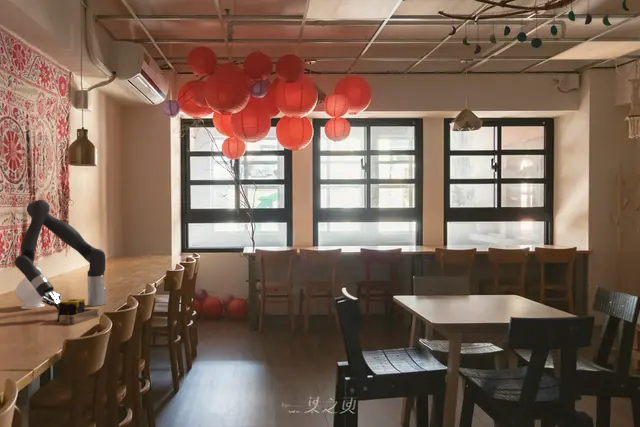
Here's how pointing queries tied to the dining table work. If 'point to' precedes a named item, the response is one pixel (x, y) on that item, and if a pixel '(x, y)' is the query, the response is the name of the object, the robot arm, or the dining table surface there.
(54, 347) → the dining table surface
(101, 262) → the robot arm
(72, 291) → the dining table surface
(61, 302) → the candle
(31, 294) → the decorative vase
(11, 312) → the dining table surface
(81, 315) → the dock
